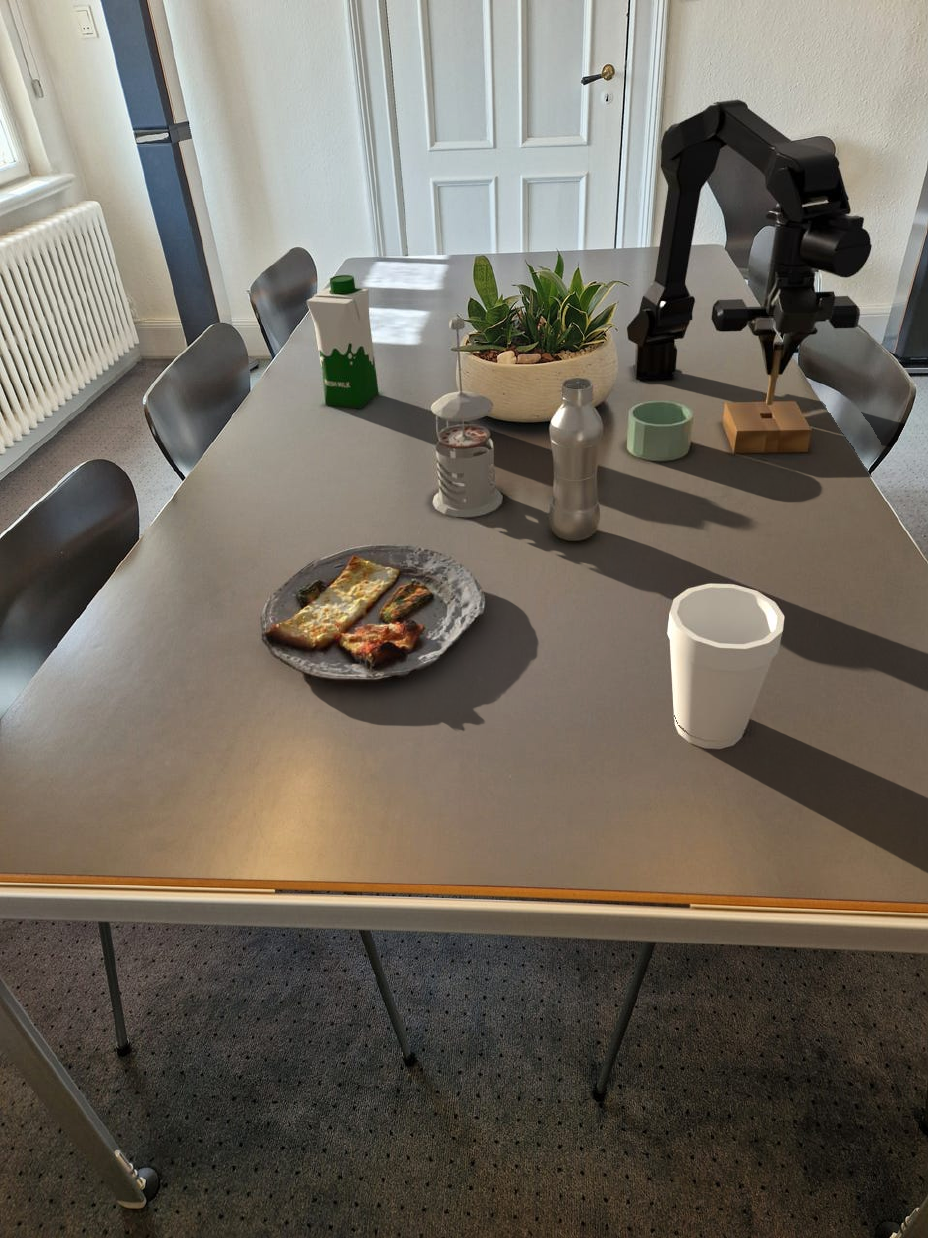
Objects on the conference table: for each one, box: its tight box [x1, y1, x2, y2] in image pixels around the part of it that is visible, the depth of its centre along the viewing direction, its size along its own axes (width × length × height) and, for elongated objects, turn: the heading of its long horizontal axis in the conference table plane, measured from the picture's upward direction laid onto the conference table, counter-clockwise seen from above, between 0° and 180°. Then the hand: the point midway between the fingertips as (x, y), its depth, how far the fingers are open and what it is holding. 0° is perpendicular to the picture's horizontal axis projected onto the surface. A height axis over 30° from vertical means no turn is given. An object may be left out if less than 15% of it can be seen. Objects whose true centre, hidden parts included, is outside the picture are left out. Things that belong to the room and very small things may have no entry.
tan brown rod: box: [765, 341, 784, 405], centre depth 123 cm, size 1×1×9 cm
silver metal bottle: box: [548, 377, 604, 542], centre depth 103 cm, size 6×7×20 cm
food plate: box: [260, 543, 486, 684], centre depth 95 cm, size 25×23×4 cm
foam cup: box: [667, 583, 785, 750], centre depth 76 cm, size 10×9×13 cm
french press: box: [430, 317, 504, 518], centre depth 111 cm, size 10×12×25 cm
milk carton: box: [306, 274, 379, 410], centre depth 144 cm, size 9×9×20 cm
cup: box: [626, 400, 695, 462], centre depth 126 cm, size 9×9×6 cm
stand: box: [722, 400, 813, 454], centre depth 128 cm, size 10×10×4 cm
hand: (774, 373), depth 123 cm, fingers closed on tan brown rod, 1 cm apart
